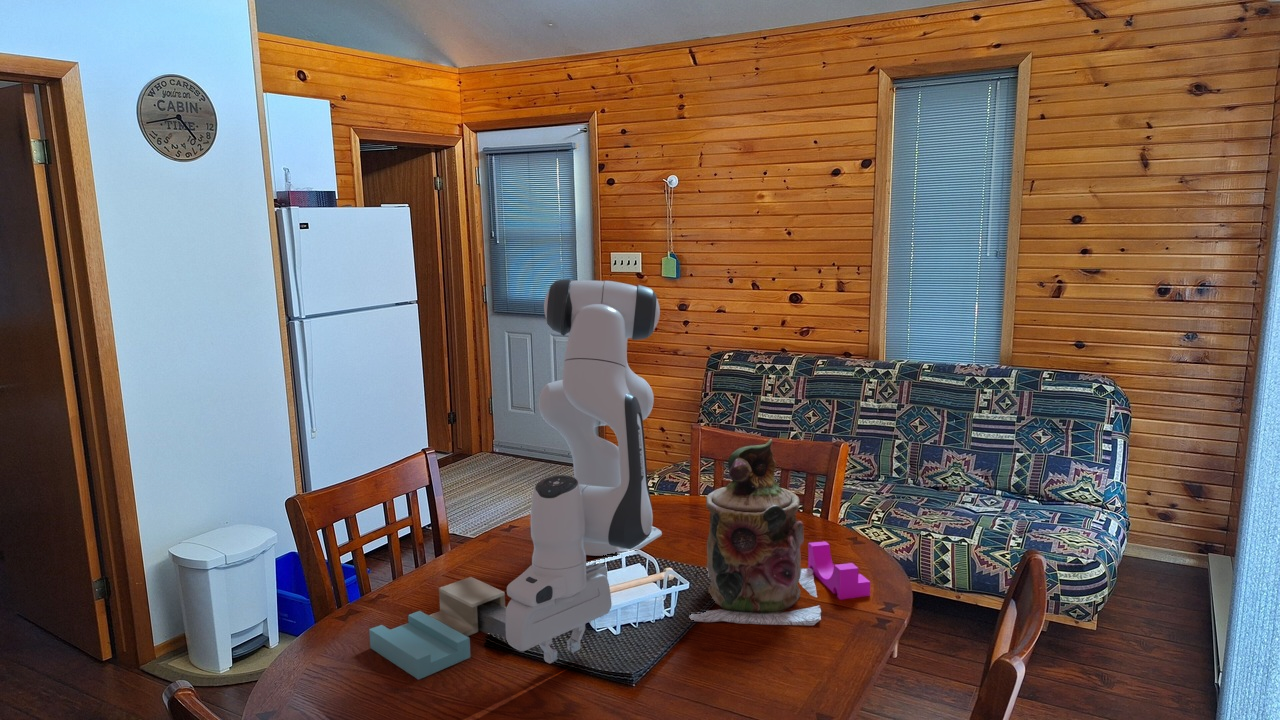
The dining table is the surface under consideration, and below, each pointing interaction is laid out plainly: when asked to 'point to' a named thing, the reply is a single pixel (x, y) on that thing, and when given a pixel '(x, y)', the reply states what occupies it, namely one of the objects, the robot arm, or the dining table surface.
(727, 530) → the cookie jar
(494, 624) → the gray rectangular bar
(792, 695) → the dining table surface
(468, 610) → the bracket
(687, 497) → the dining table surface
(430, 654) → the teal grooved block
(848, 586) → the toy block
